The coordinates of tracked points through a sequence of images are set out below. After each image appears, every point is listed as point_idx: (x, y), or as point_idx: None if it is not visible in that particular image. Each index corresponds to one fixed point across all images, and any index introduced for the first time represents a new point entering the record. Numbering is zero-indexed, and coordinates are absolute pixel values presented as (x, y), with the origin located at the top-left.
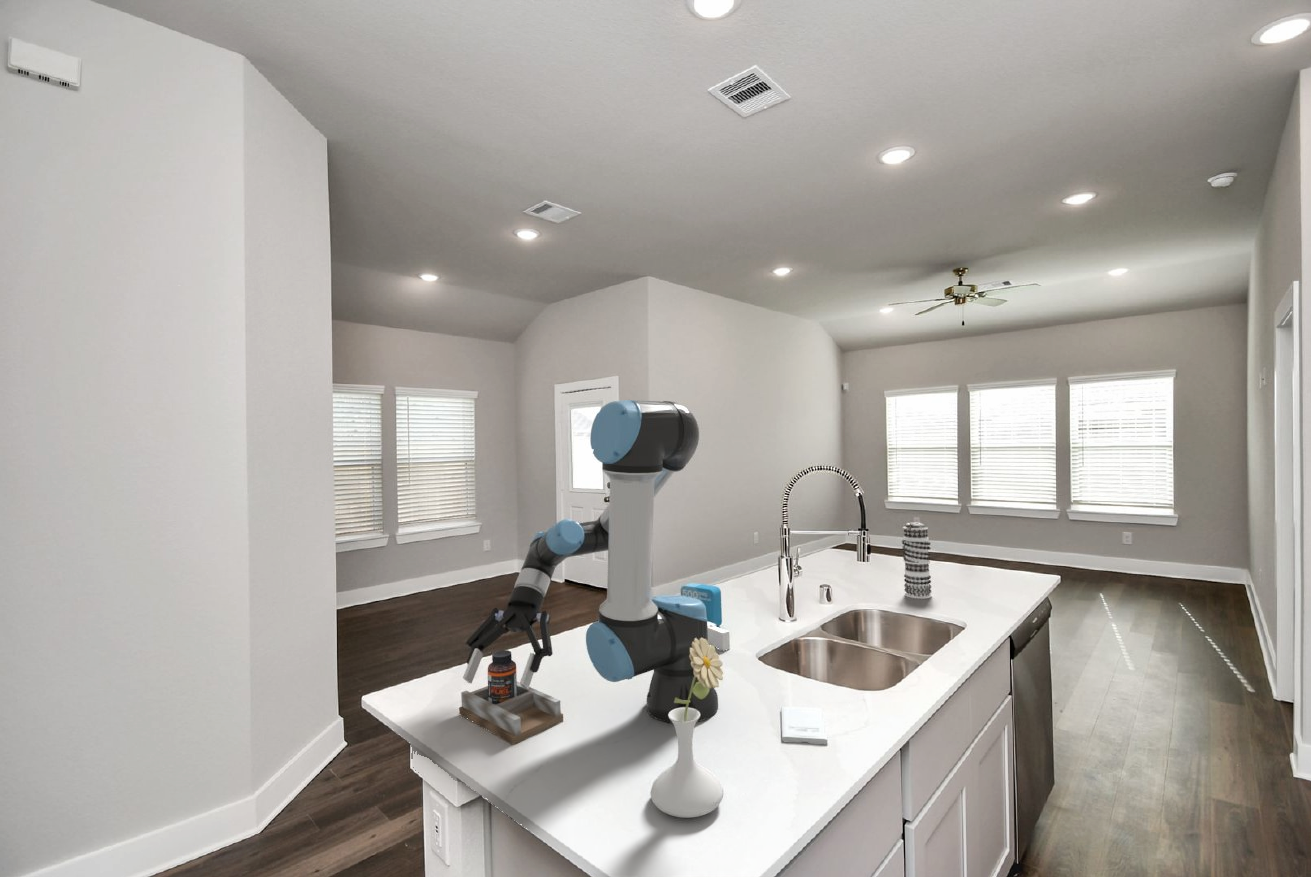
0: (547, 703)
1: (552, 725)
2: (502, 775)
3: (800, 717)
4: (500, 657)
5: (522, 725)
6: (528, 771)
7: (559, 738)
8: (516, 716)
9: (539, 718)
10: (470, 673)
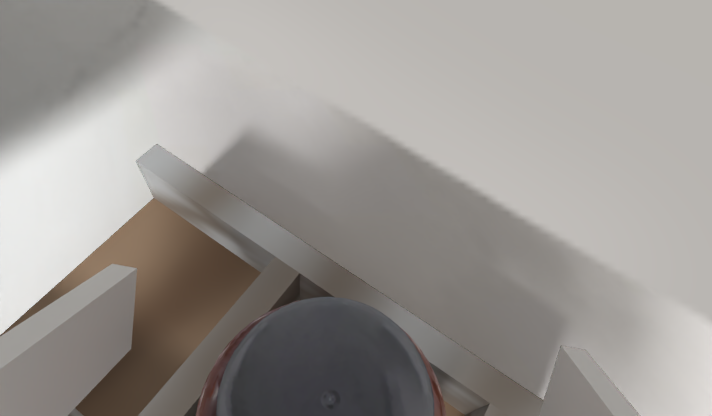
0: None
1: None
2: (180, 57)
3: None
4: (304, 301)
5: (159, 255)
6: (107, 70)
7: (3, 237)
8: (156, 169)
9: None
10: (570, 401)
